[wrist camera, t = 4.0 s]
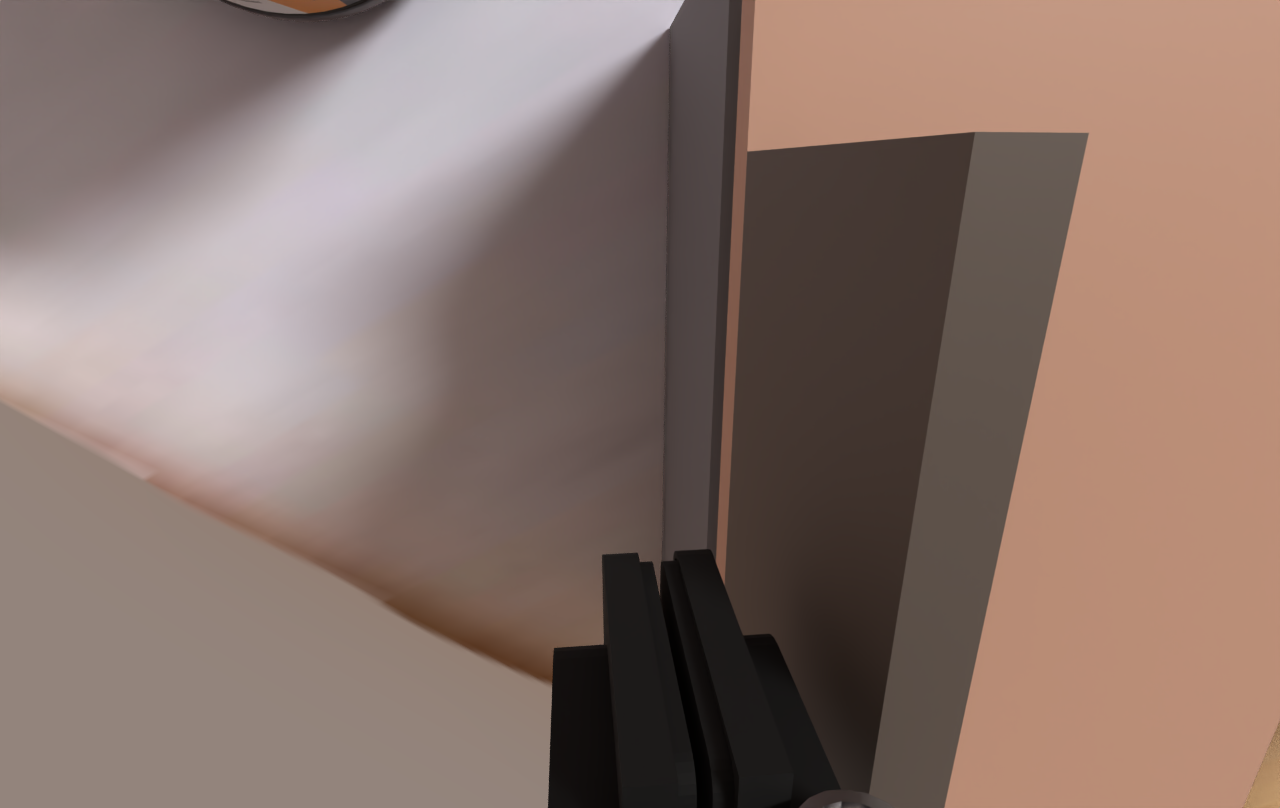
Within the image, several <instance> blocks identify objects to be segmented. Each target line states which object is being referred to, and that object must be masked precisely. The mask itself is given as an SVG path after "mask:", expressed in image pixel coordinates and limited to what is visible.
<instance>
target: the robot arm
mask: <svg viewBox="0 0 1280 808" xmlns="http://www.w3.org/2000/svg"><path fill="white" fill-rule="evenodd" d="M602 574H603V619H604V645H592V646H577V647H562V648H554V655H553V682H552V710H551V739H550V768H549V770H550V771H549V796H548V808H895V807H893V806H892V805H890V804H889V803H888V802H885V801H883V800H881V799H879V798H876V797H874V796H872V795H870V794H867V793H863V792H858V791H853V790H848V789H841V788H840V786H839V783H838V781H837V779H836V776H835V774H834V772H833V770H832V767H831V765H830V763H829V760H828V758H827V756H826V753H825V751H824V749H823V747H822V744H821V742H820V740H819V737H818V735H817V733H816V731H815V728H814V726H813V724H812V721H811V719H810V717H809V715H808V712H807V710H806V708H805V705H804V703H803V701H802V699H801V696H800V694H799V692H798V689H797V687H796V685H795V682H794V680H793V678H792V676H791V673H790V671H789V669H788V666H787V664H786V662H785V660H784V657H783V655H782V653H781V650H780V648H779V646H778V644H777V642H776V640H775V638H774V637H773V636H772V635H771V634H756V635H743V634H742V631H741V629H740V626H739V623H738V621H737V618H736V615H735V613H734V610H733V607H732V604H731V602H730V599H729V596H728V594H727V591H726V588H725V586H724V583H723V580H722V577H721V575H720V572H719V569H718V567H717V564H716V561H715V559H714V556H713V553H712V551H711V550H710V549H698V550H680V551H675V552H674V555H673V561H662V562H661V578H660V595H659V591H658V586H657V581H656V576H655V571H654V567H653V563H652V562H640V561H639V556H638V553H624V554H606V555H602Z"/></svg>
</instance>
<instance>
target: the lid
mask: <svg viewBox="0 0 1280 808" xmlns="http://www.w3.org/2000/svg"><path fill="white" fill-rule="evenodd" d="M716 564H717V567H718V569H719V572H720V575H721V577H722V580H723V583H724V586H725V588H726V591H727V594H728V596H729V599H730V602H731V604H732V607H733V610H734V613H735V615H736V618H737V621H738V623H739V626H740V629H741V631H742V634H743V635H756V634H771V635H772V636H773V637H774V638H775V640H776V642H777V644H778V646H779V648H780V650H781V653H782V655H783V657H784V660H785V662H786V664H787V666H788V669H789V671H790V673H791V676H792V678H793V680H794V682H795V685H796V687H797V689H798V692H799V694H800V696H801V699H802V701H803V703H804V705H805V708H806V710H807V712H808V715H809V717H810V719H811V721H812V724H813V726H814V728H815V731H816V733H817V735H818V737H819V740H820V742H821V744H822V747H823V749H824V751H825V753H826V756H827V758H828V760H829V763H830V765H831V767H832V770H833V772H834V774H835V776H836V779H837V781H838V783H839V786H840V788H841V789H848V790H853V791H858V792H863V793H867V794H870V795H872V796H874V797H876V798H879V799H881V800H883V801H885V802H888V803H889V804H890V805H892V806H893V807H895V808H1243V806H1244V804H1245V802H1246V799H1247V797H1248V795H1249V792H1250V790H1251V788H1252V785H1253V783H1254V780H1255V778H1256V776H1257V773H1258V771H1259V769H1260V766H1261V764H1262V762H1263V759H1264V757H1265V754H1266V752H1267V750H1268V747H1269V745H1270V743H1271V740H1272V738H1273V736H1274V733H1275V731H1276V728H1277V726H1278V724H1279V721H1280V0H742V15H741V36H740V58H739V79H738V101H737V122H736V143H735V165H734V186H733V208H732V229H731V250H730V272H729V293H728V315H727V336H726V357H725V379H724V400H723V421H722V443H721V464H720V486H719V507H718V528H717V550H716Z"/></svg>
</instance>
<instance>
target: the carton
mask: <svg viewBox="0 0 1280 808" xmlns="http://www.w3.org/2000/svg"><path fill="white" fill-rule="evenodd" d="M741 15H742V0H685V1H684V3H683V4H682V6H681V8H680V10H679V12H678V13H677V15H676V17H675V19H674V21H673V23H672V24H671V26H670V60H669V128H668V196H667V264H666V332H665V400H664V469H663V537H662V561H673V555H674V552H675V551H680V550H698V549H710V550H711V551H712V553H713V556H714V559H715V561H716V550H717V528H718V507H719V486H720V464H721V443H722V421H723V400H724V379H725V357H726V336H727V315H728V293H729V272H730V250H731V229H732V208H733V186H734V165H735V143H736V122H737V101H738V79H739V58H740V36H741Z"/></svg>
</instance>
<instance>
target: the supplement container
mask: <svg viewBox="0 0 1280 808" xmlns="http://www.w3.org/2000/svg"><path fill="white" fill-rule="evenodd" d="M220 1H222V2H224V3H226V4H229V5H231V6H233V7H235V8H238V9H241V10H244V11H247V12H250V13H253V14H256V15H260V16H264V17H268V18H273V19H277V20H286V21H295V22H320V21H329V20H337V19H341V18H345V17H349V16H353V15H356V14H358V13H361V12H364V11H366V10H369V9H371V8H373V7H375V6H377V5H379V4H381V3H383V2H384V1H386V0H220Z"/></svg>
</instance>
